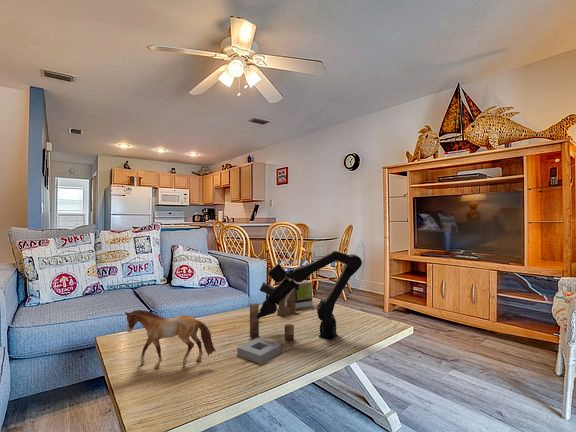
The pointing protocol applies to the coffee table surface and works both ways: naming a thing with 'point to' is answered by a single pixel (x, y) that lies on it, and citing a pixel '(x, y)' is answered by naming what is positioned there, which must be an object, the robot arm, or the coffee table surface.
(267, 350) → the slate collar block
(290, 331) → the short walnut stub
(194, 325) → the horse figurine
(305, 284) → the tea box
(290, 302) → the wooden block
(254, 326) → the tall walnut pin
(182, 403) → the coffee table surface
